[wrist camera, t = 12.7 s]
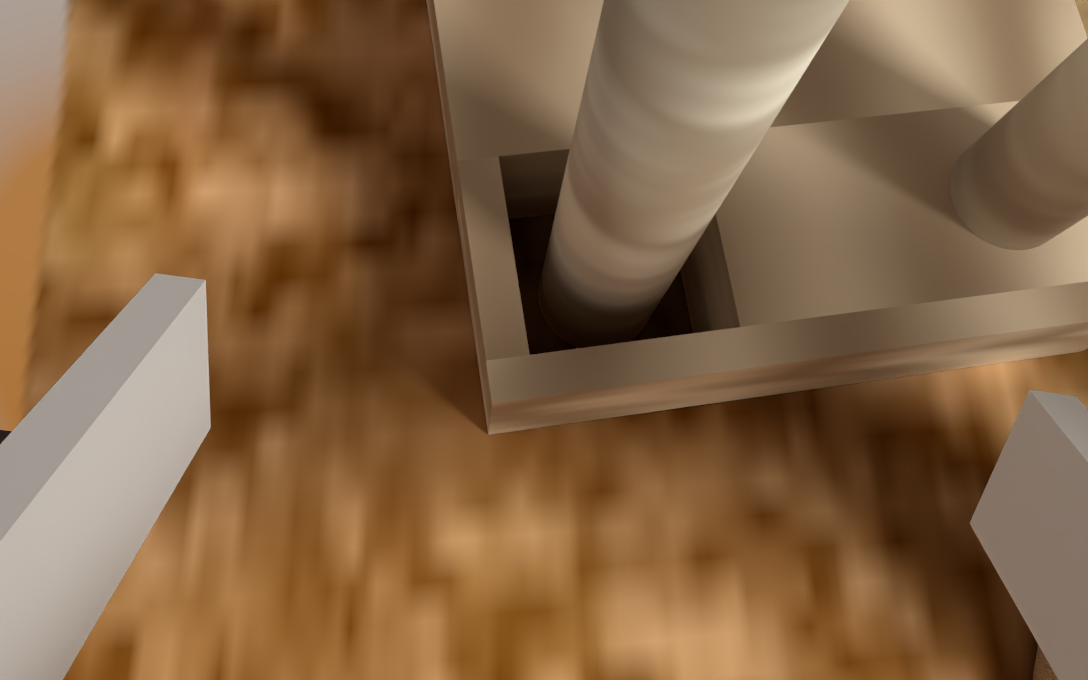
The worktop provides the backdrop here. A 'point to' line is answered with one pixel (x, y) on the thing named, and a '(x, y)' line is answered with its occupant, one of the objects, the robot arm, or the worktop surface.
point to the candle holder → (1043, 668)
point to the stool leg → (664, 147)
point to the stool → (797, 206)
